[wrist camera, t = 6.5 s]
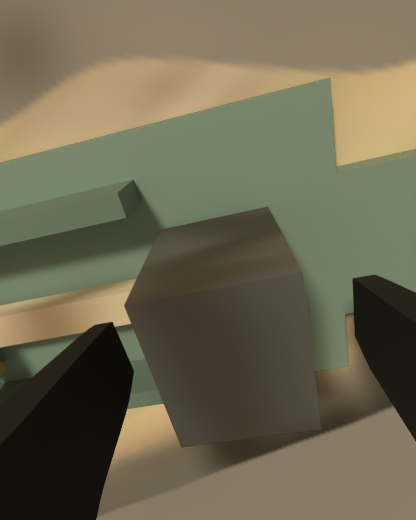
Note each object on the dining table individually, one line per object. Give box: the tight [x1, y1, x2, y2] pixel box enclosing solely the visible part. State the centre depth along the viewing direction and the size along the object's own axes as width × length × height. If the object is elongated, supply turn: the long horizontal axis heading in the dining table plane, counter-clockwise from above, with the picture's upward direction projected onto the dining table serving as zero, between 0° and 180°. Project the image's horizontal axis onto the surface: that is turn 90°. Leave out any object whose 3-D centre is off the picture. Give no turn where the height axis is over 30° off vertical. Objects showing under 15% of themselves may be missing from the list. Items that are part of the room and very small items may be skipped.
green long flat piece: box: [0, 78, 416, 409], centre depth 13 cm, size 36×12×3 cm, turn 103°
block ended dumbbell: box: [0, 207, 321, 447], centre depth 11 cm, size 14×5×5 cm, turn 103°
